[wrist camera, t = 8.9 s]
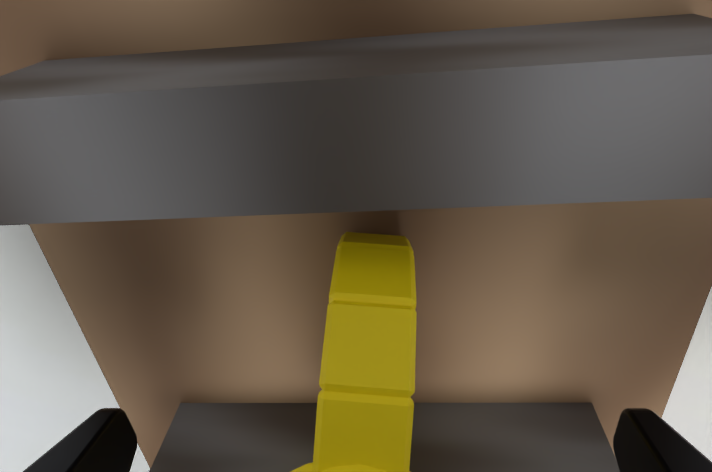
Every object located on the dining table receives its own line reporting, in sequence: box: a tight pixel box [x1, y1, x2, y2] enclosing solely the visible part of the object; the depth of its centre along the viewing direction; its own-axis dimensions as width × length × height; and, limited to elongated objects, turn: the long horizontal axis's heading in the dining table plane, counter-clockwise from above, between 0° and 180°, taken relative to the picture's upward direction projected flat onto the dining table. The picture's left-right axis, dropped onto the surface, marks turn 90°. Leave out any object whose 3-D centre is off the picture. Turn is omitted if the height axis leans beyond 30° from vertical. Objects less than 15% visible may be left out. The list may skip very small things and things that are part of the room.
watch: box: [290, 232, 417, 472], centre depth 10 cm, size 6×3×6 cm, turn 177°
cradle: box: [0, 0, 712, 472], centre depth 11 cm, size 16×20×4 cm
